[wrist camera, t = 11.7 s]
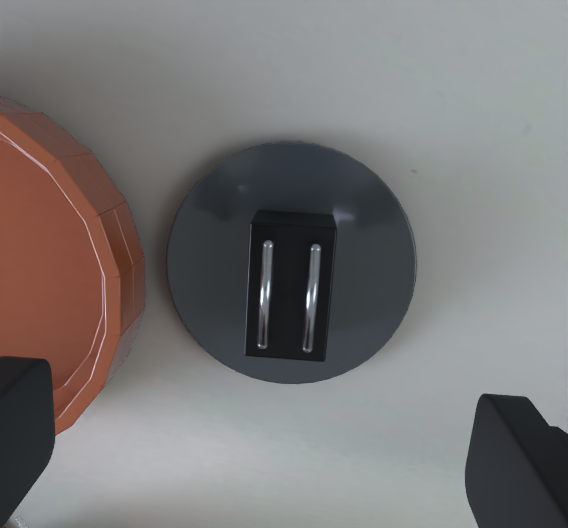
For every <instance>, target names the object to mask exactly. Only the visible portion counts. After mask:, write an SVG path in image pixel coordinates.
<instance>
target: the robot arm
mask: <svg viewBox="0 0 568 528" xmlns="http://www.w3.org/2000/svg"><path fill="white" fill-rule="evenodd" d="M54 444H55V417H54V401H53V386H52V372H51V367H50V364H49V362H48V361H47V360H46V359H41V358H28V357H15V356H2V357H0V528H2V527H3V526H4V525H5V523H6V522H7V520H8V519H9V518H10V516H11V515H12V514H13V512H14V511H15V509H16V508H17V507H18V505H19V504H20V503H21V501H22V500H23V498H24V497H25V496H26V494H27V493H28V491H29V490H30V489H31V487H32V486H33V485H34V483H35V482H36V480H37V479H38V478H39V476H40V475H41V473H42V472H43V471H44V469H45V468H46V466H47V465H48V463H49V460H50V458H51V455H52V452H53V448H54ZM465 487H466V494H467V498H468V502H469V505H470V507H471V510H472V512H473V515H474V517H475V520H476V522H477V524H478V527H479V528H568V434H567V433H566V432H564V431H563V430H561V429H560V428H559V427H554V426H549V425H548V423H547V422H546V421H545V419H544V418H543V417H542V416H541V414H540V413H539V412H538V410H537V409H536V408H535V406H534V405H533V404H532V402H531V401H530V400H529V399H528V398H527V397H523V396H510V395H497V394H482V395H481V397H480V398H479V400H478V403H477V408H476V413H475V418H474V424H473V429H472V435H471V440H470V445H469V451H468V456H467V462H466V468H465Z"/></svg>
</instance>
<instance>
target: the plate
mask: <svg viewBox="0 0 568 528" xmlns="http://www.w3.org/2000/svg"><path fill="white" fill-rule="evenodd" d="M257 210H270V211H284V212H298V213H312V214H326V215H333V216H334V218H335V222H336V226H337V230H338V231H337V242H336V253H335V264H334V274H333V285H332V296H331V307H330V318H329V328H328V339H327V350H326V360H325V362H316V361H303V360H291V359H278V358H265V357H252V356H245V355H244V335H245V314H246V293H247V272H248V251H249V230H250V223H251V221H252V219H253V217H254V215H255V213H256V212H257ZM166 272H167V280H168V285H169V291H170V294H171V297H172V300H173V303H174V306H175V308H176V310H177V312H178V314H179V316H180V318H181V320H182V322H183V324H184V325H185V327H186V328H187V330H188V331H189V333H190V334H191V335H192V336H193V338H194V339H195V340H196V341H197V342H198V343H199V345H200V346H201V347H203V348H204V349H205V350H206V351H207V352H208V353H209V354H210V355H211V356H213V357H214V358H215V359H217V360H218V361H220V362H221V363H222V364H224V365H226V366H228V367H229V368H231V369H233V370H235V371H237V372H239V373H242V374H244V375H247V376H249V377H252V378H255V379H259V380H263V381H267V382H274V383H281V384H303V383H313V382H317V381H322V380H327V379H330V378H333V377H336V376H338V375H341V374H344V373H346V372H348V371H350V370H352V369H354V368H356V367H357V366H359V365H360V364H362V363H363V362H365V361H366V360H368V359H369V358H371V357H372V356H373V355H374V354H375V353H376V352H378V351H379V350H380V349H381V348H382V347H383V346H384V345H385V344H386V343H387V341H388V340H389V339H390V338H391V337H392V336H393V334H394V333H395V331H396V330H397V328H398V327H399V325H400V324H401V322H402V320H403V318H404V316H405V314H406V312H407V310H408V307H409V305H410V302H411V299H412V296H413V292H414V287H415V282H416V272H417V256H416V246H415V241H414V236H413V232H412V229H411V226H410V224H409V221H408V218H407V216H406V214H405V212H404V210H403V208H402V206H401V204H400V202H399V201H398V199H397V198H396V197H395V195H394V194H393V192H392V191H391V190H390V188H389V187H388V186H387V185H386V184H385V183H384V182H383V181H382V180H381V179H380V178H379V177H378V176H377V175H376V174H375V173H374V172H373V171H371V170H370V169H369V168H368V167H366V166H365V165H364V164H362V163H361V162H359V161H357V160H356V159H354V158H352V157H351V156H349V155H347V154H345V153H342V152H340V151H338V150H335V149H333V148H330V147H326V146H322V145H319V144H314V143H306V142H275V143H268V144H263V145H259V146H256V147H252V148H249V149H247V150H244V151H242V152H239V153H237V154H235V155H233V156H231V157H229V158H228V159H226V160H224V161H223V162H221V163H219V164H218V165H216V166H215V167H214V168H213V169H211V170H210V171H209V172H208V173H206V174H205V175H204V176H203V177H202V178H201V179H200V180H199V181H198V182H197V183H196V184H195V185H194V186H193V188H192V189H191V190H190V192H189V193H188V195H187V196H186V197H185V199H184V200H183V202H182V204H181V206H180V208H179V210H178V212H177V213H176V216H175V218H174V221H173V224H172V227H171V229H170V234H169V238H168V243H167V252H166Z"/></svg>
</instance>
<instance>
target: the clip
mask: <svg viewBox="0 0 568 528" xmlns="http://www.w3.org/2000/svg"><path fill="white" fill-rule="evenodd" d="M337 231H338V230H337V226H336V222H335V218H334V216H333V215H326V214H312V213H298V212H284V211H270V210H257V212H256V213H255V215H254V217H253V219H252V221H251V223H250V230H249V251H248V272H247V293H246V314H245V335H244V355H245V356H252V357H265V358H278V359H291V360H303V361H316V362H325V360H326V350H327V339H328V328H329V318H330V307H331V296H332V285H333V274H334V264H335V253H336V242H337Z"/></svg>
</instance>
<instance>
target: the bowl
mask: <svg viewBox="0 0 568 528" xmlns="http://www.w3.org/2000/svg"><path fill="white" fill-rule="evenodd" d="M144 307H145V256H144V252H143V249H142V246H141V243H140V240H139V237H138V234H137V231H136V228H135V225H134V222H133V219H132V216H131V213H130V210H129V207H128V204H127V202H126V200H125V199H124V197H123V196H122V194H121V193H120V192H119V190H118V189H117V187H116V186H115V184H114V183H113V182H112V180H111V179H110V177H109V176H108V174H107V173H106V172H105V170H104V169H103V167H102V166H101V164H100V163H99V162H98V160H97V159H96V157H95V156H94V154H92V153H91V151H90V150H89V149H87V148H86V147H85V146H84V145H82V144H81V143H80V142H79V141H77V140H76V139H75V138H74V137H72V136H71V135H70V134H69V133H67V132H66V131H65V130H64V129H62V128H61V127H60V126H59V125H57V124H56V123H55V122H54V121H52V120H51V119H50V118H49V117H47V116H46V115H44V114H43V113H41V112H39V111H36V110H34V109H31V108H29V107H26V106H24V105H21V104H19V103H16V102H14V101H11V100H9V99H6V98H4V97H1V96H0V357H2V356H15V357H28V358H41V359H46V360H47V361H48V362H49V364H50V367H51V372H52V386H53V401H54V417H55V436H56V435H57V434H59V433H61V432H63V431H64V430H66V429H68V428H69V427H70V426H72V425H73V424H74V423H75V421H76V420H77V419H78V418H79V417H80V415H81V414H82V413H83V412H84V411H85V409H86V408H87V407H88V406H89V404H90V403H91V402H92V401H93V400H94V398H95V397H96V396H97V395H98V394H99V392H100V391H101V390H102V389H103V387H104V386H105V385H106V383H107V382H108V381H109V380H110V378H111V377H112V376H113V374H114V373H115V372H116V370H117V369H118V368H119V366H120V365H121V364H122V362H123V361H124V360H125V358H126V357H127V356H128V354H129V352H130V349H131V346H132V344H133V341H134V338H135V335H136V332H137V329H138V326H139V323H140V321H141V318H142V315H143V312H144Z"/></svg>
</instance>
